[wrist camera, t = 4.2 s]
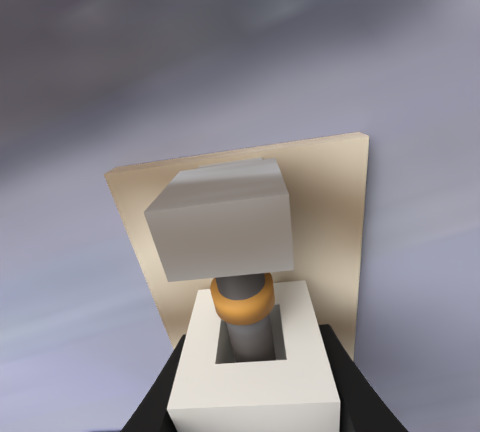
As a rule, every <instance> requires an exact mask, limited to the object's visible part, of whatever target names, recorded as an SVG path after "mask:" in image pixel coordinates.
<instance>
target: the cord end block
mask: <svg viewBox="0 0 480 432" xmlns="http://www.w3.org/2000/svg"><path fill="white" fill-rule="evenodd" d="M273 286H274V295H275V304H274V307H273V309H272V310H271V312H270V319H271V327H272V334H273V341H274V348H275V356H276V360H275V361H258V362H242V363H236V360H235V356H234V352H233V348H232V344H231V340H230V336H229V332H228V328H227V324H226V322H225V321H223V320H222V319H221V318H220V317H219V316H218V315H217V313H216V310H215V306H214V302H213V299H212V295H211V291H210V289H203V290H198V292H197V296H196V300H195V304H194V308H193V311H192V315H191V319H190V323H189V327H188V330H187V334H186V338H185V342H184V345H183V349H182V353H181V357H180V361H179V364H178V368H177V372H176V376H175V380H174V383H173V387H172V391H171V395H170V398H169V402H168V406H167V411H168V413H169V415H170V417H171V419H172V421H173V423H174V425H175V427H176V429H177V431H178V432H339V425H340V399H339V395H338V392H337V388H336V385H335V381H334V378H333V374H332V371H331V367H330V364H329V361H328V357H327V354H326V350H325V347H324V343H323V340H322V336H321V333H320V329H319V326H318V323H317V319H316V316H315V312H314V309H313V305H312V302H311V298H310V295H309V291H308V288H307V284H306V281H305V280H302V281H291V282H280V283H273Z"/></svg>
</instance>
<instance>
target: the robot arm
mask: <svg viewBox="0 0 480 432" xmlns="http://www.w3.org/2000/svg"><path fill="white" fill-rule="evenodd" d="M318 326H319V329H320V333H321V336H322V340H323V343H324V347H325V350H326V354H327V357H328V361H329V364H330V367H331V371H332V374H333V378H334V381H335V385H336V388H337V392H338V395H339V399H340V425H339V432H408V431H407V430H406V428H405V427H404V426H403V425H402V424H401V423H400V422H399V420H398V419H397V418H396V417H395V416H394V414H393V413H392V412H391V411H390V410H389V408H388V407H387V406H386V405H385V404H384V402H383V401H382V400H381V398H380V397H379V396H378V395H377V393H376V392H375V391H374V390H373V388H372V387H371V386H370V384H369V383H368V382H367V380H366V379H365V378H364V376H363V375H362V373H361V372H360V371H359V369H358V368H357V366H356V365H355V364H354V362H353V361H352V359H351V358H350V356H349V355H348V353H347V352H346V350H345V349H344V347H343V346H342V344H341V342H340V341H339V339H338V337H337V336H336V334H335V332H334V331H333V329H332V327H331V326H330V325H329V324H322V325H318ZM185 338H186V334H183V335H182V337H181V338H180V340H179V342H178V344H177V346H176V347H175V349H174V351H173V353H172V354H171V356H170V358H169V359H168V361H167V363H166V365H165V366H164V368H163V370H162V371H161V373H160V374H159V376H158V378H157V379H156V381H155V382H154V384H153V386H152V387H151V389H150V390H149V392H148V393H147V395H146V396H145V398H144V399H143V401H142V402H141V404H140V405H139V406H138V408H137V409H136V411H135V412H134V414H133V415H132V416H131V418H130V419H129V421H128V422H127V423H126V425H125V426H124V427H123V429H122V430H121V431H120V432H178V431H177V429H176V427H175V425H174V423H173V421H172V419H171V417H170V415H169V413H168V411H167V406H168V402H169V398H170V395H171V391H172V387H173V383H174V380H175V376H176V372H177V368H178V364H179V361H180V357H181V353H182V349H183V345H184V342H185Z"/></svg>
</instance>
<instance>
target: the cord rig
mask: <svg viewBox="0 0 480 432" xmlns="http://www.w3.org/2000/svg"><path fill="white" fill-rule="evenodd" d="M368 147H369V136H368V135H365V134H362V133H360V132H355V133H348V134H341V135H334V136H327V137H321V138H314V139H307V140H300V141H293V142H286V143H280V144H273V145H266V146H259V147H252V148H245V149H239V150H232V151H225V152H218V153H211V154H204V155H197V156H191V157H184V158H177V159H170V160H163V161H156V162H150V163H143V164H136V165H129V166H122V167H116V168H114V169H112V170H111V171H109V172H107V173H105V174H104V176H105V179H106V181H107V184H108V186H109V189H110V191H111V194H112V196H113V199H114V201H115V204H116V206H117V209H118V211H119V214H120V216H121V219H122V221H123V224H124V226H125V229H126V231H127V234H128V236H129V239H130V241H131V244H132V246H133V249H134V251H135V254H136V256H137V259H138V261H139V264H140V266H141V269H142V271H143V274H144V276H145V279H146V281H147V284H148V286H149V289H150V291H151V294H152V296H153V299H154V301H155V304H156V306H157V309H158V311H159V314H160V316H161V319H162V321H163V324H164V326H165V329H166V331H167V334H168V336H169V339H170V341H171V344H172V346H173V349H175V347H176V346H177V344H178V342H179V340H180V338H181V337H182V335H183V334H187V330H188V327H189V323H190V319H191V315H192V311H193V308H194V304H195V300H196V296H197V292H198V290H203V289H210V291H211V295H212V299H213V302H214V306H215V310H216V313H217V315H218V316H219V317H220V318H221V319H222V320H223V321H225V322H226V324H227V328H228V332H229V336H230V340H231V344H232V348H233V352H234V356H235V360H236V363H242V362H258V361H275V360H276V356H275V348H274V341H273V334H272V327H271V319H270V312H271V310H272V309H273V307H274V304H275V295H274V286H273V283H280V282H291V281H302V280H305V281H306V284H307V288H308V291H309V295H310V298H311V302H312V305H313V309H314V312H315V316H316V319H317V323H318V325H322V324H329V325H330V326H331V327H332V329H333V331H334V332H335V334H336V336H337V337H338V339H339V341H340V342H341V344H342V346H343V347H344V349H345V350H346V352H347V353H348V355H349V356H350V358H351V359H352V361H353V360H354V346H355V332H356V317H357V303H358V289H359V275H360V260H361V246H362V232H363V218H364V203H365V189H366V175H367V161H368Z"/></svg>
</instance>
